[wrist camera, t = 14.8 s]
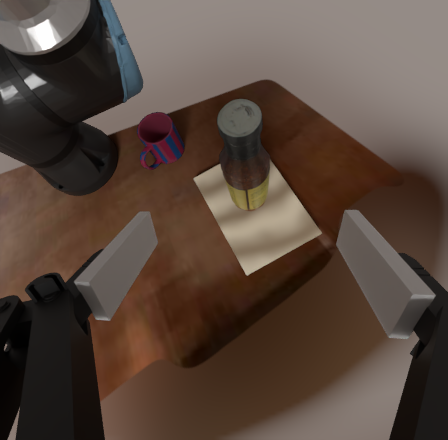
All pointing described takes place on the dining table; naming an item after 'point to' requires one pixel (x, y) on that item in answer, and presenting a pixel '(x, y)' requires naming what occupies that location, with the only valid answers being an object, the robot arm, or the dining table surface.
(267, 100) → the dining table surface
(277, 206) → the birch board
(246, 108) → the sauce bottle
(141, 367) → the dining table surface
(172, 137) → the mug
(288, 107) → the dining table surface
